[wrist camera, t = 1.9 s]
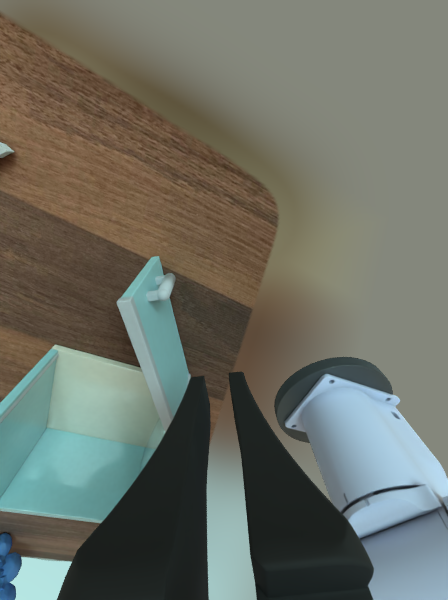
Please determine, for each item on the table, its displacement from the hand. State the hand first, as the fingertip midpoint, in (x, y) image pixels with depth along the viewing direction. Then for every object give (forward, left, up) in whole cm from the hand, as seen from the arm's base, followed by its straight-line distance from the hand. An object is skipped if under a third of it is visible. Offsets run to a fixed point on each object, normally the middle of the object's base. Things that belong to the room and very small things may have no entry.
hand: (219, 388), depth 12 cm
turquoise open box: (+6, +15, -9) cm, 19 cm away
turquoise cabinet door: (+2, +3, -9) cm, 10 cm away
